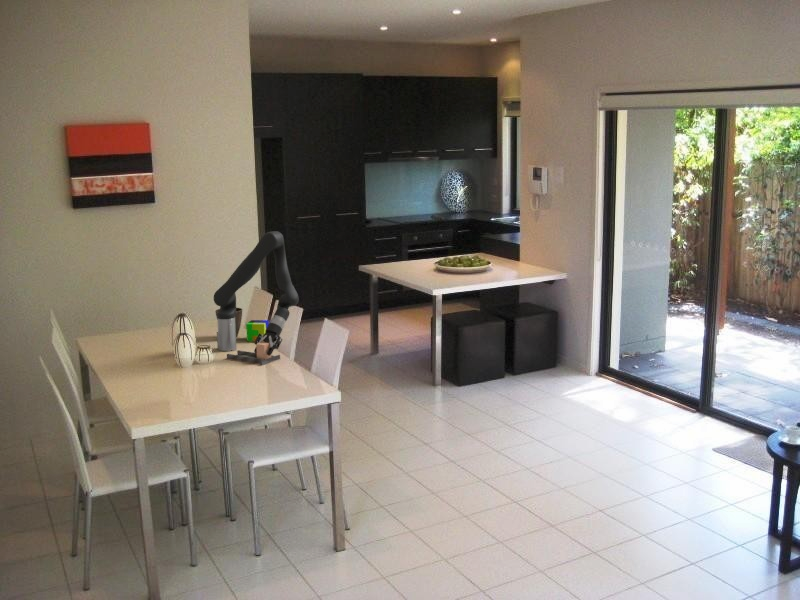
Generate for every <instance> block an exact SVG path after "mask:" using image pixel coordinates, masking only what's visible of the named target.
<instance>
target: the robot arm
mask: <svg viewBox="0 0 800 600" xmlns="http://www.w3.org/2000/svg"><path fill="white" fill-rule="evenodd" d="M271 252H273V256H274V262H275V264H274V265H275V267H274V268H275V269H274V270H275V272H274V273H275V278H276V283H277V286H278V288H279V290H282V291H283V292H284V293H283V294H282V295H280V297H279V300H278V302H277V306H276V309H275V312H274V313H273V316H272V317H271V318H270V320H269V324H268V326H267V328H266V331H265V334H264V335H261V334H259V335H258V337H257V339H256V341H255V342H254V344H255V345H256V344H258V343H261V342H263V341H264V342H268V343H270V346H271V347H270V348H269V350H268V352H267V355H268V356H270V355H272V354H273V352H274V350H275V349H276V350H278V349H279V348H280V346H281V343H282V341H283V338H282V337H281V336H280V335H281V334H282V332H283V330H284V328H285V325H286V323H287V321H288V319H289V317H290V310H289V309H290V308H291V307H294V306H297V305H298V304H299V301H300V299H299V293H298V292H297V290H296V288H295V286H294V284H293V282H292V278H291V276H290V271H289V266H288V262H287V256H286V247H285V239H284V235H283V234H282V233H281V232H280V231H275V230H274V231H267V232H266V233H263V235H262V236H261V237H260V240H259V241H258V243H257V244H256V246H254V248H253V250H251V252H250V253H249V254H248V255H247V256H246V257H245V258H244V259H243V260H242V261H241V263H240V264H239V265H238V266H237V267H236V269H235V270H234V271H233V272H232V273H231V275H230V277H228V279H227V280H226V281H225V283H224V284H222V285H221V286H220V287H219V288H217V290H216V291H215V292H214V294H213V301H214V302H213V303H214V304H215V305H216V306H219V309H220V310H219V312H218V313H217V317H216V320H218V321H217V331H216V342H217V343H216V344H217V350H219V351H221V352H231V350H232V351H235V350H237V349H238V347H237V338H236V325H235V313H236V308H237V296H236V292H237V291H238V290H239V289H240V288H242V287H244V286H245V285H246V284H247V283H248V282H249V281H251V279H252V278H253V277H254V276H255V275H256V274H257V273H258V272H259V270H260V268H261V266H262V263H263V261H264V260H265V258H266V257H267V256H268V255H269V254H270V253H271ZM253 353H256V354H257V348H256V347H255V349H254V350H253Z"/></svg>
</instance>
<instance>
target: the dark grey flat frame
mask: <svg viewBox="0 0 800 600" xmlns="http://www.w3.org/2000/svg"><path fill="white" fill-rule="evenodd" d="M236 353H237V354H233V353H226V358H224V360H226V361H232V362H239V363H244V364H250V365H255V366H256V365H257V366H264V365H268V364H270V363H272V362H276V361H278V360H281V354H277V355H272V354H271V358H268V359H265V360H264V359H258V358H257V354H256V353H255V352H254V351H253V352H251V351H245V350H237V352H236Z"/></svg>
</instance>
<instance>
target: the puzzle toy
mask: <svg viewBox="0 0 800 600" xmlns="http://www.w3.org/2000/svg"><path fill="white" fill-rule="evenodd" d="M269 322H270V320H268V319H267V320H266V319H265V320H263V319H259V320H255V319H250V321H248V322H247V323H246V326H245V327H246V328H245V329H246V341H256V339H257V337H258V335H259V334H261V335H264V334H265V331H266V328H267V326H268V324H269ZM263 342H264V341H263Z"/></svg>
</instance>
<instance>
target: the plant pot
mask: <svg viewBox="0 0 800 600" xmlns="http://www.w3.org/2000/svg"><path fill="white" fill-rule="evenodd" d="M219 310H220V308H218V309H216V310H215V312H214V313H215V317H216V318H217V313H218V312H219ZM242 317H243V308H241V307H236V313H235V325H236V337H237V338H238V336H239V334H240V333H239V332H240V328H241V325H242ZM216 320H217V319H216ZM217 322H218V320H217Z"/></svg>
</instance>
